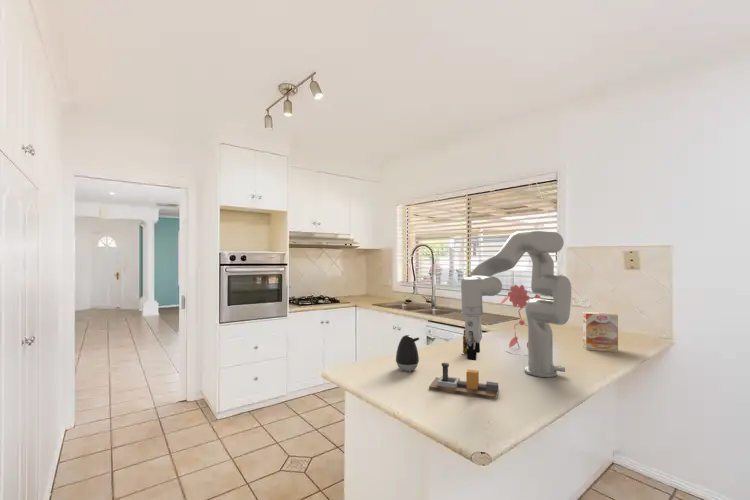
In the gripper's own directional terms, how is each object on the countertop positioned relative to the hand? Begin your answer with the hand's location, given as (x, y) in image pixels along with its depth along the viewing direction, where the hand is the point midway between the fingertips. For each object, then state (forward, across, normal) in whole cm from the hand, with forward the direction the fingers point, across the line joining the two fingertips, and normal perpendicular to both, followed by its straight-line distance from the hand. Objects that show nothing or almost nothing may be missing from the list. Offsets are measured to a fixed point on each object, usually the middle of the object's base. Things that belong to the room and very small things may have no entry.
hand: (473, 355), depth 136 cm
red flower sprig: (+15, +65, -13) cm, 68 cm away
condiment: (+14, +51, +10) cm, 54 cm away
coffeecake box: (+17, +85, -53) cm, 101 cm away
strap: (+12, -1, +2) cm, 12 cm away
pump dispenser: (+13, +13, +31) cm, 36 cm away
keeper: (+13, -1, +4) cm, 13 cm away
